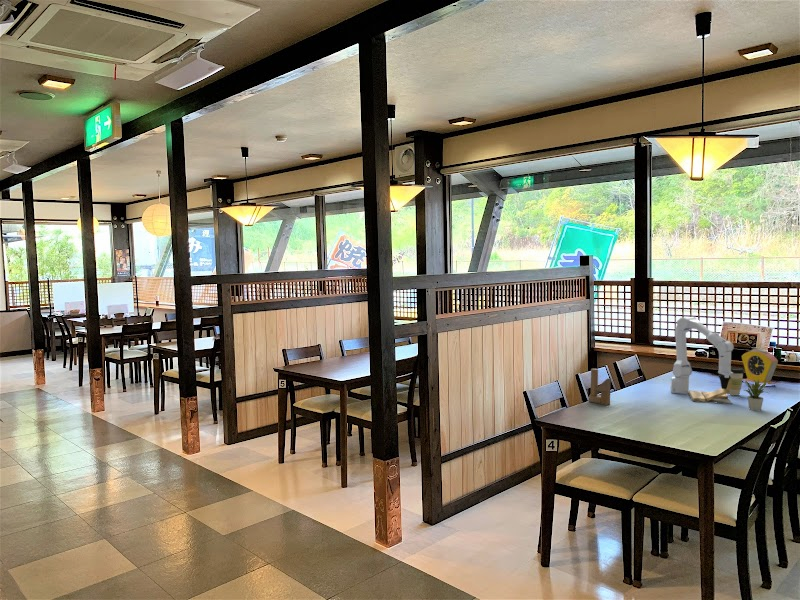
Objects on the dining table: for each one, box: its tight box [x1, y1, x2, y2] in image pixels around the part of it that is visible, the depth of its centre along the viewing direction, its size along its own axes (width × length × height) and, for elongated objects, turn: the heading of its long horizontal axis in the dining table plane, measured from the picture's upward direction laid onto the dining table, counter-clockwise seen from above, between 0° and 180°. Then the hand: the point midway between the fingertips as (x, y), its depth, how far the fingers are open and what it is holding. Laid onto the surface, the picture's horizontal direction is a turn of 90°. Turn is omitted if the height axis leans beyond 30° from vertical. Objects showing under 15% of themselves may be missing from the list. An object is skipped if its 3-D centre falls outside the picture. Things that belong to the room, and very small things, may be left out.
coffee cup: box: [726, 366, 745, 396], centre depth 340 cm, size 10×10×15 cm
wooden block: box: [588, 368, 612, 406], centre depth 321 cm, size 4×11×18 cm, turn 39°
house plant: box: [743, 378, 774, 411], centre depth 305 cm, size 14×14×16 cm
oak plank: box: [704, 387, 730, 401], centre depth 325 cm, size 12×9×1 cm
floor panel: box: [688, 390, 733, 405], centre depth 331 cm, size 19×20×2 cm
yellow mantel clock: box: [741, 348, 779, 384], centre depth 369 cm, size 22×9×22 cm, turn 17°
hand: (724, 388), depth 324 cm, fingers closed, pressing on oak plank
